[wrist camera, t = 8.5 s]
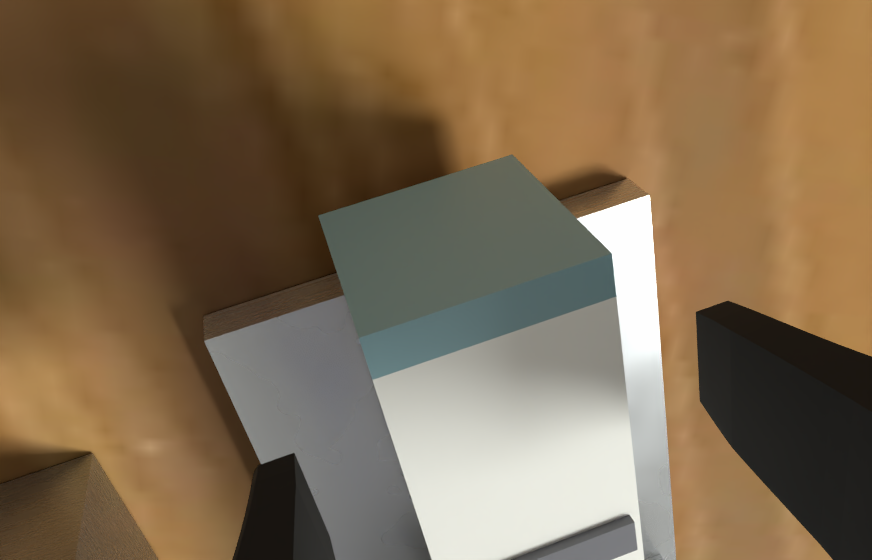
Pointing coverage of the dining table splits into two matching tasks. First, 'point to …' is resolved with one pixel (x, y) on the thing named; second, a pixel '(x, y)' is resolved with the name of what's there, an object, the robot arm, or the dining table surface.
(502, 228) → the cartridge
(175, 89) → the dining table surface
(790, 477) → the robot arm
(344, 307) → the housing
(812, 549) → the dining table surface
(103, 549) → the plunger collar
